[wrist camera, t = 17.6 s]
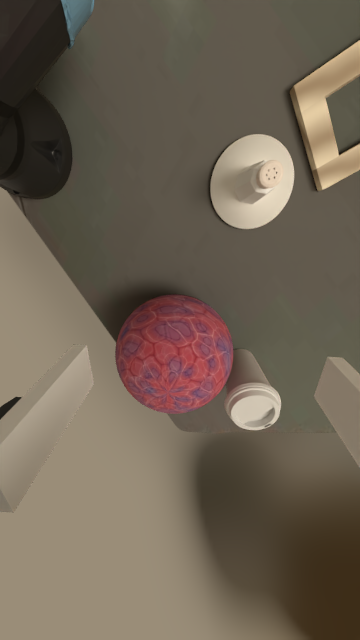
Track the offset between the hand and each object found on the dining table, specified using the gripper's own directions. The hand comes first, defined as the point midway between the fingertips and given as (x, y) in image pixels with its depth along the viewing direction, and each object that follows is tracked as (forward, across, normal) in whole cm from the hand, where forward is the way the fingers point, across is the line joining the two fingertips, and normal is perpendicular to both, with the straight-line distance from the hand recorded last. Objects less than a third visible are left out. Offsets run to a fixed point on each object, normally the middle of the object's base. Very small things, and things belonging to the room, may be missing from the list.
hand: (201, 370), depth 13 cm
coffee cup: (+33, +10, -22) cm, 41 cm away
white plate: (+33, +8, +13) cm, 36 cm away
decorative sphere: (+33, -4, -14) cm, 36 cm away
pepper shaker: (+32, +8, +12) cm, 35 cm away
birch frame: (+33, +21, +21) cm, 44 cm away
